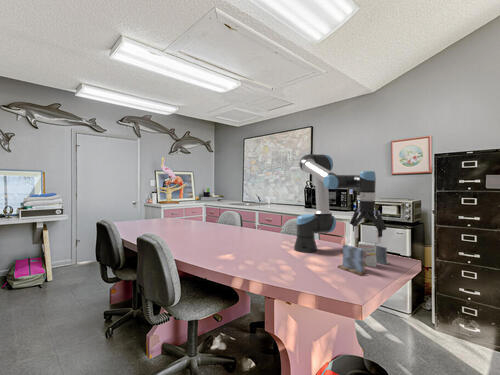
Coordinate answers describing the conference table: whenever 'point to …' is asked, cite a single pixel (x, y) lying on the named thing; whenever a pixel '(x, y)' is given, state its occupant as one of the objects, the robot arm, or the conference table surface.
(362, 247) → the ink box
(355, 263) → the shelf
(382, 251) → the bookend
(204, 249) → the conference table surface
